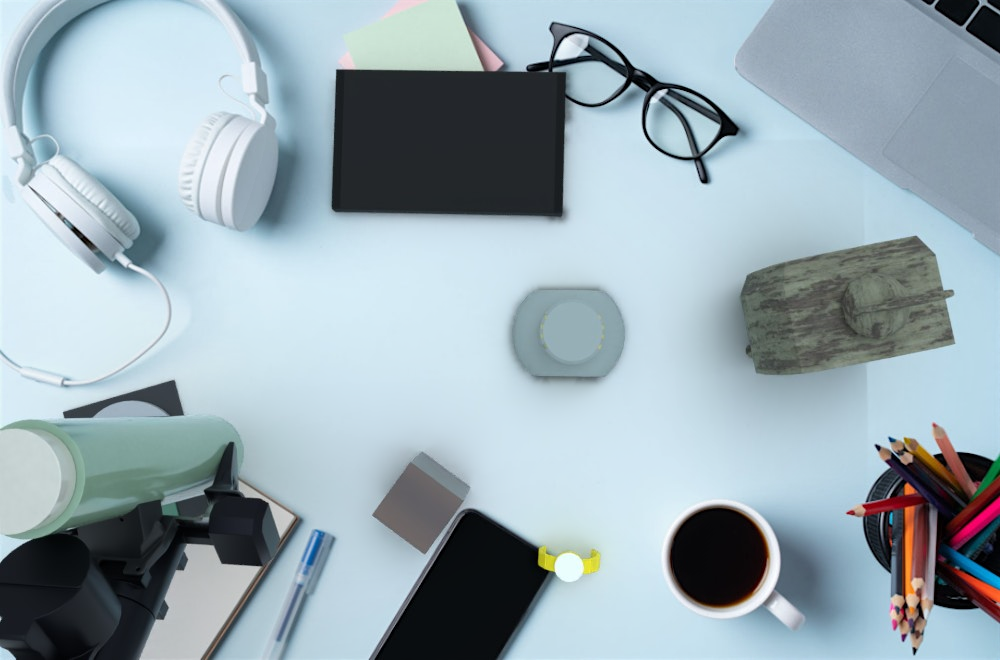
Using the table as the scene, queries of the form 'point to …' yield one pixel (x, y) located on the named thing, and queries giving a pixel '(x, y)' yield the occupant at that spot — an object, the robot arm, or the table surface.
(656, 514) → the table surface
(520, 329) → the air freshener
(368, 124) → the external hard drive
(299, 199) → the table surface
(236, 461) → the robot arm
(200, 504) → the scale
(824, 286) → the toy tank
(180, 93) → the table surface
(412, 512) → the block
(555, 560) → the watch
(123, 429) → the canister
